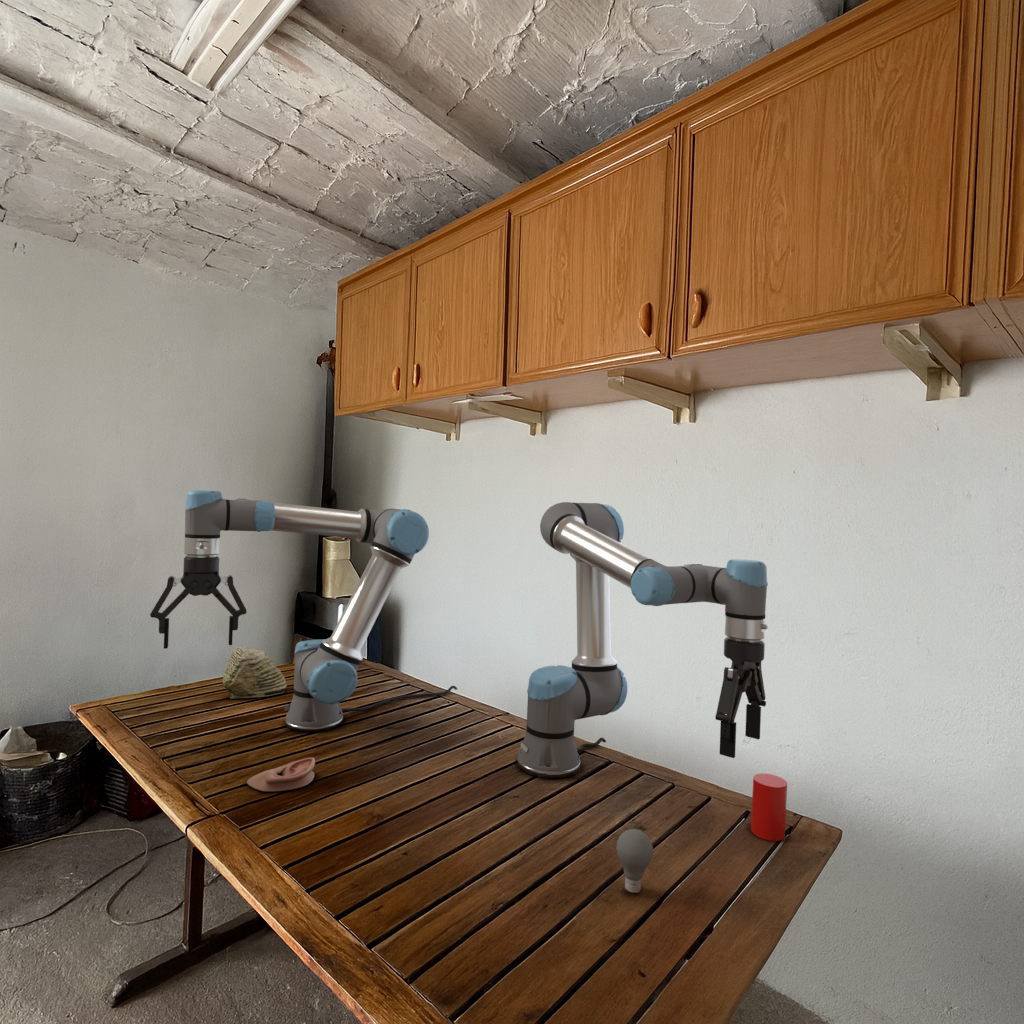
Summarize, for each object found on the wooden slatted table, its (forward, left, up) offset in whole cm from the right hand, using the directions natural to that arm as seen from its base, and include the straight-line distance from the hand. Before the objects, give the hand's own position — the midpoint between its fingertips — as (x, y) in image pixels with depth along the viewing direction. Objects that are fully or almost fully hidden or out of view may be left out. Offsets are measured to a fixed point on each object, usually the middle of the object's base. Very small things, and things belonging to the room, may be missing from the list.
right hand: (740, 746), depth 125 cm
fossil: (+49, -136, -18) cm, 146 cm away
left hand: (+76, -96, +9) cm, 122 cm away
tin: (-7, +3, -18) cm, 19 cm away
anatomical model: (+63, -73, -18) cm, 98 cm away
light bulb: (+31, -1, -18) cm, 36 cm away
